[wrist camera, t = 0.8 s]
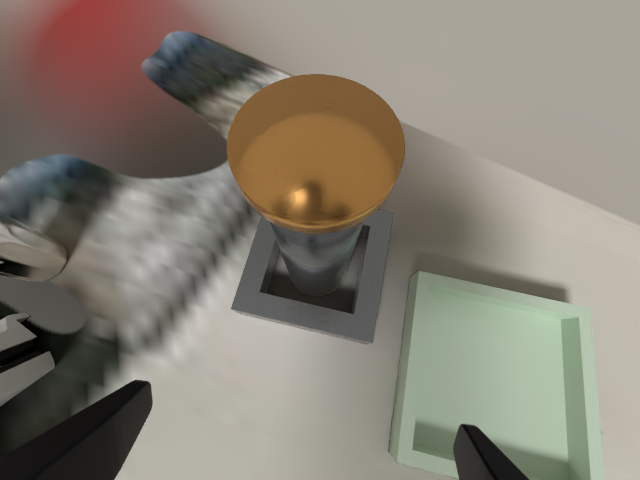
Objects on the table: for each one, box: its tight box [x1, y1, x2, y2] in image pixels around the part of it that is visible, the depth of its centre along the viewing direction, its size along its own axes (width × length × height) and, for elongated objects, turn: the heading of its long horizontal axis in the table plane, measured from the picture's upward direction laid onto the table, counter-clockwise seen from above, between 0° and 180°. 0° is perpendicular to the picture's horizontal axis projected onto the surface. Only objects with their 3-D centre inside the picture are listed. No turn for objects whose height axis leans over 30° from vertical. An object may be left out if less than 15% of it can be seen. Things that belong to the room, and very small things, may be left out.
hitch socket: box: [231, 209, 393, 344], centre depth 22 cm, size 10×10×2 cm
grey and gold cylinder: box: [227, 74, 405, 296], centre depth 16 cm, size 6×6×15 cm
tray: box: [388, 271, 605, 480], centre depth 20 cm, size 12×12×2 cm
